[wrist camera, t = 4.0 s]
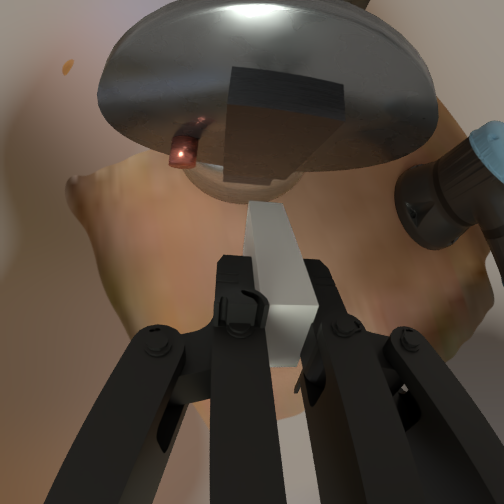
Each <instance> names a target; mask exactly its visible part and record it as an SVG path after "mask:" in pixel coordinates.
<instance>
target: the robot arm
mask: <svg viewBox="0 0 504 504" xmlns="http://www.w3.org/2000/svg"><path fill="white" fill-rule="evenodd" d="M395 205H396V209H397V213H398V216H399V218H400V221H401V223H402V225H403V227H404V228H405V230H406V231H407V233H408V234H409V235H410V236H411V238H412V239H413V240H414V241H415V242H417V243H418V244H419V245H421V246H422V247H424V248H427V249H430V250H440V249H443V248H445V247H448V246H450V245H452V244H453V243H454V242H455V241H456V240H457V239H458V238H459V237H460V236H461V235H462V234H463V233H464V232H465V231H466V230H467V229H468V228H469V227H470V226H472V225H475V224H479V226H480V228H481V230H482V232H483V234H484V236H485V238H486V241H487V243H488V245H489V247H490V250H491V252H492V254H493V257H494V259H495V262H496V264H497V267H498V269H499V272H500V275H501V279H502V284H503V286H504V123H503V122H500V121H490V122H488V123H486V124H485V125H483V126H482V127H480V128H479V129H477V130H474V131H472V132H471V133H470V136H469V137H468V138H466V139H465V140H464V141H462V142H461V143H460V144H459V145H457V146H456V147H454V148H453V149H452V150H450V151H449V152H448V153H446V154H445V155H444V156H442V157H441V158H440V159H438V160H437V161H434V162H431V163H427V164H421V165H416V166H413V167H411V168H409V169H408V170H407V171H406V172H404V173H403V174H402V175H401V176H400V178H399V179H398V181H397V184H396V187H395ZM300 357H301V362H302V366H303V369H302V371H301V374H300V376H299V378H298V381H297V383H296V385H295V388H294V393H298V391H299V389H300V387H301V392H302V397H303V402H304V408H305V413H306V418H307V424H308V430H309V436H310V441H311V447H312V453H313V459H314V464H315V470H316V476H317V483H318V489H319V495H320V502H321V504H504V446H503V444H502V443H501V441H500V440H499V438H498V436H497V435H496V433H495V432H494V430H493V429H492V427H491V426H490V424H489V423H488V421H487V420H486V418H485V417H484V415H483V414H482V413H481V411H480V410H479V408H478V407H477V405H476V404H475V403H474V401H473V400H472V398H471V397H470V396H469V394H468V393H467V392H466V390H465V389H464V387H463V386H462V385H461V383H460V382H459V381H458V379H457V378H456V377H455V376H454V374H453V373H452V371H451V370H450V369H449V368H448V366H447V365H446V364H445V362H444V361H443V360H442V359H441V357H440V356H439V355H438V354H437V352H436V351H435V350H434V349H433V347H432V346H431V345H430V344H429V342H428V341H427V340H426V339H425V337H424V336H423V335H422V334H420V333H419V332H418V331H416V330H415V329H413V328H410V327H405V326H403V327H397V328H396V329H394V330H393V331H392V333H391V335H390V336H384V335H380V334H375V333H371V332H368V331H366V330H365V327H364V326H363V324H362V323H361V321H359V320H358V319H357V318H356V317H354V316H352V315H350V314H348V313H347V311H346V309H345V306H344V304H343V301H342V299H341V297H340V294H339V292H338V290H337V287H335V283H334V280H333V279H332V276H331V274H330V271H329V269H328V268H327V267H326V266H325V265H324V264H323V263H322V262H321V261H320V260H317V259H303V258H302V255H301V252H300V250H299V247H298V244H297V241H296V238H295V236H294V233H293V230H292V228H291V225H290V222H289V219H288V217H287V214H286V211H285V209H284V206H283V203H273V202H262V201H250V200H249V204H248V212H247V221H246V230H245V238H244V247H243V256H235V255H223V256H222V257H221V259H220V260H219V261H218V262H217V274H216V289H215V301H214V315H213V318H212V320H211V322H210V323H209V324H208V325H207V326H206V327H204V328H202V329H200V330H198V331H194V332H190V333H185V334H180V333H179V332H178V331H177V330H176V329H174V328H172V327H170V326H167V325H159V324H157V325H151V326H147V327H145V328H143V329H141V330H139V332H138V333H137V334H136V335H135V336H134V337H133V339H132V340H131V342H130V343H129V345H128V347H127V348H126V350H125V352H124V354H123V355H122V357H121V358H120V360H119V362H118V364H117V365H116V367H115V369H114V370H113V372H112V374H111V375H110V377H109V379H108V380H107V382H106V384H105V386H104V388H103V389H102V391H101V393H100V394H99V396H98V398H97V400H96V401H95V403H94V405H93V407H92V409H91V411H90V412H89V414H88V416H87V418H86V420H85V421H84V423H83V425H82V427H81V429H80V431H79V433H78V435H77V437H76V439H75V440H74V442H73V444H72V446H71V448H70V450H69V452H68V454H67V456H66V458H65V460H64V462H63V464H62V466H61V468H60V470H59V472H58V474H57V476H56V478H55V480H54V483H53V485H52V487H51V489H50V491H49V493H48V495H47V498H46V500H45V502H44V504H152V503H153V500H154V497H155V494H156V492H157V489H158V486H159V483H160V481H161V478H162V475H163V472H164V470H165V467H166V464H167V462H168V459H169V456H170V453H171V451H172V448H173V445H174V442H175V440H176V437H177V434H178V432H179V429H180V426H181V424H182V421H183V418H184V416H185V413H186V410H187V407H188V405H189V403H193V402H197V401H202V400H206V399H210V504H287V502H286V494H285V486H284V477H283V469H282V461H281V453H280V444H279V436H278V429H277V420H276V412H275V404H274V396H273V388H272V380H271V372H270V367H297V364H298V362H299V359H300ZM404 384H405V385H406V387H407V388H408V391H407V392H406V391H404V390H403V389H402V388H401V387H402V386H403V385H404Z"/></svg>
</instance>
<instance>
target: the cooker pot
mask: <svg viewBox="0 0 504 504" xmlns="http://www.w3.org/2000/svg"><path fill="white" fill-rule="evenodd" d="M183 171H184V172H185V174H186V176H187V177H188V178H189V180H190V181H191V182H192V183H193V184H194V185H195V186H196V187H197V188H199V189H200V190H201V191H203V192H204V193H206V194H208V195H210V196H211V197H214V198H216V199H219V200H221V201H225V202H229V203H235V204H249V200H250V201H262V202H267V201H270V200H273V199H276V198H278V197H280V196H281V195H283V194H285V193H286V192H288V191H289V190H290V189H291V188H292V187H293V186H294V185H296V183H297V182H298V181H299V179H300V178H301V176H302V175H303V173H304V172H293V173H292V174H291V175H290V176H289V177H288V178H287V179H286V180H277V179H268V178H258V177H247V176H236V175H223V166H219V165H213V164H207V163H201V162H196V167H195V168H192V169H183Z"/></svg>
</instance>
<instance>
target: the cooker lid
mask: <svg viewBox="0 0 504 504" xmlns="http://www.w3.org/2000/svg"><path fill="white" fill-rule="evenodd" d="M97 98H98V106H99V108H100V111H101V113H102V115H103V116H104V118H105V119H106V121H107V122H108V123H109V124H110V125H111V126H112V127H113V128H114V129H115V130H117V131H118V132H120V133H121V134H122V135H124V136H126V137H127V138H129V139H130V140H132V141H134V142H136V143H138V144H140V145H143V146H145V147H148V148H150V149H153V150H155V151H158V152H161V153H165V154H168V155H170V157H169V166H171V167H174V168H179V169H192V168H195V167H196V162H201V163H207V164H213V165H219V166H223V175H236V176H247V177H258V178H268V179H277V180H286V179H287V178H288V177H289V176H290V175H291V174H292V173H293V172H320V171H337V170H348V169H356V168H363V167H369V166H374V165H378V164H383V163H387V162H390V161H393V160H396V159H399V158H401V157H404V156H406V155H408V154H410V153H412V152H414V151H416V150H417V149H418V148H420V147H421V146H422V145H424V144H425V143H426V142H427V141H428V140H429V138H430V137H431V136H432V134H433V133H434V131H435V129H436V126H437V122H438V118H439V117H438V104H437V98H436V94H435V89H434V85H433V81H432V78H431V75H430V72H429V70H428V67H427V65H426V64H425V62H424V61H423V59H422V57H421V56H420V54H419V53H418V52H417V50H416V49H415V48H414V47H413V46H412V45H411V44H410V43H409V42H408V41H407V40H406V39H405V38H404V37H403V36H402V34H400V33H399V32H398V31H396V30H395V29H394V28H392V27H391V26H390V25H388V24H387V23H386V22H384V21H383V20H381V19H380V18H378V17H377V16H375V15H373V14H371V13H369V12H367V11H365V10H363V9H361V8H359V7H357V6H355V5H353V4H351V3H349V2H346V1H343V0H177V1H175V2H172V3H169V4H167V5H165V6H163V7H161V8H160V9H158V10H156V11H154V12H153V13H151V14H149V15H147V16H145V17H144V18H143V19H141V20H140V21H139V22H137V23H136V24H135V25H134V26H133V27H131V28H130V29H129V30H128V31H127V32H126V33H125V34H124V35H123V36H122V37H121V38H120V40H119V41H118V42H117V43H116V44H115V46H114V47H113V49H112V51H111V53H110V55H109V57H108V59H107V61H106V64H105V67H104V70H103V73H102V76H101V79H100V82H99V87H98V92H97Z"/></svg>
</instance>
